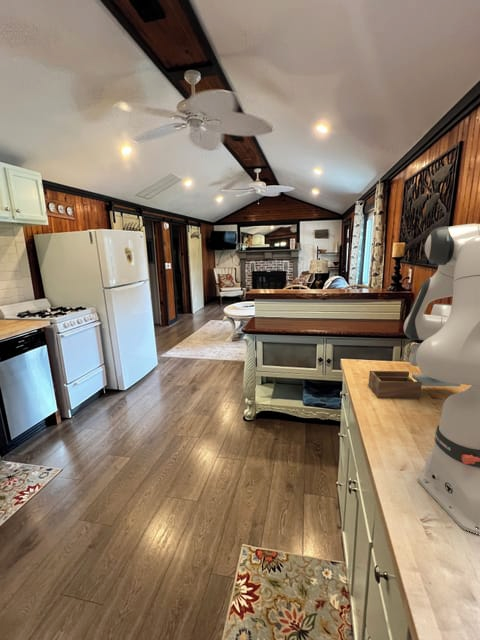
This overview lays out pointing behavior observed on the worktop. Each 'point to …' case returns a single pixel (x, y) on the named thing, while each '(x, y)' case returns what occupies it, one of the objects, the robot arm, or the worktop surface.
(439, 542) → the worktop surface
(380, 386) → the lid box
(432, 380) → the lid
